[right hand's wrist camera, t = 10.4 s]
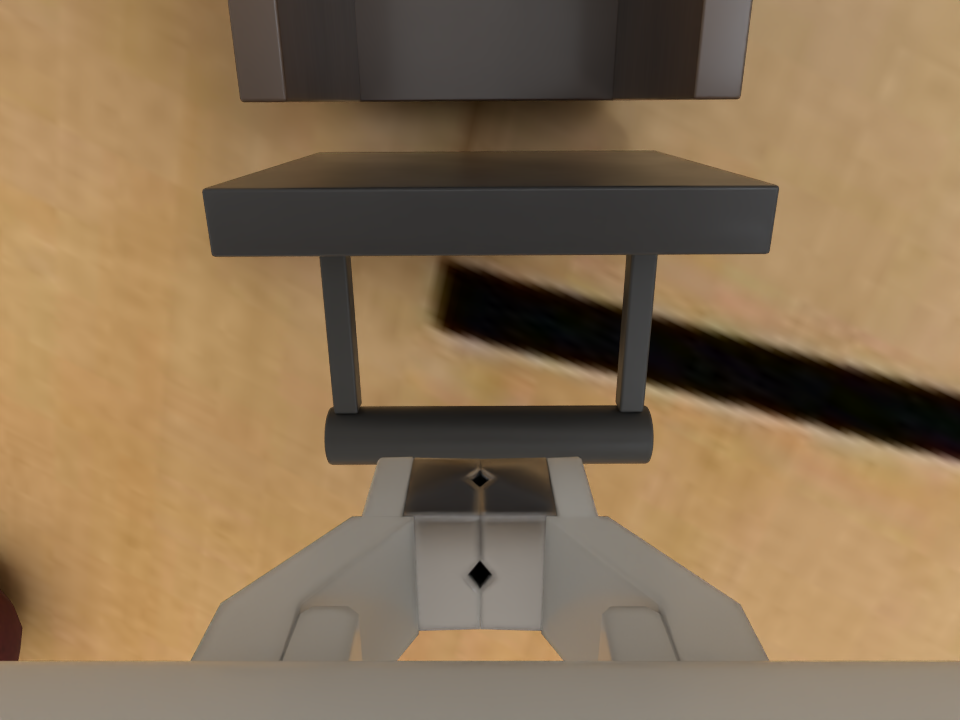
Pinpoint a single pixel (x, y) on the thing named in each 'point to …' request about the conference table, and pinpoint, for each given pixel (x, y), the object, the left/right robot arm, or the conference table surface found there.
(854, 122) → the conference table surface
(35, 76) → the conference table surface
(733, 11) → the drawer
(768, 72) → the conference table surface
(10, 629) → the potato
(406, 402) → the conference table surface
